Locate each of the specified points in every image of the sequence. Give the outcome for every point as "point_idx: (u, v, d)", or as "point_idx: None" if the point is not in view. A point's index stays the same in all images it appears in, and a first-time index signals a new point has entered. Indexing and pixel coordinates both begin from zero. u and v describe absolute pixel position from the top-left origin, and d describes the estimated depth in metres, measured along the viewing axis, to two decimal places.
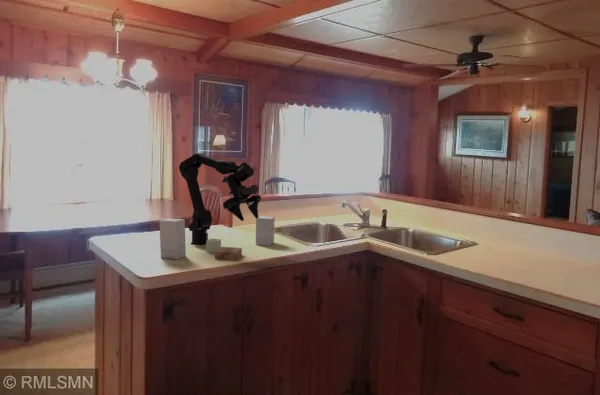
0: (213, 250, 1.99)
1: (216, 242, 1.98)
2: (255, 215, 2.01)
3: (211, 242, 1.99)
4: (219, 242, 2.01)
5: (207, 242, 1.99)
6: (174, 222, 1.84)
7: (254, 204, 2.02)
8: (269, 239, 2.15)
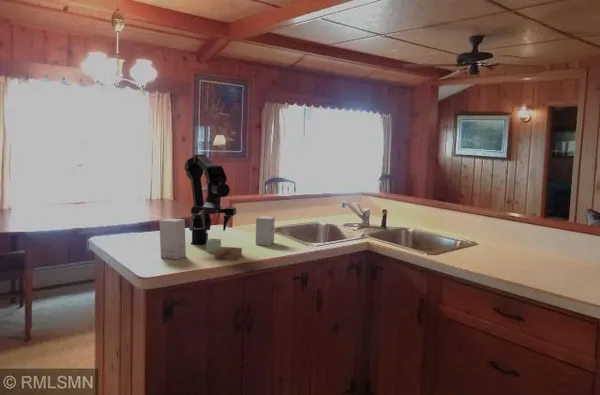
0: (213, 250, 1.99)
1: (216, 242, 1.98)
2: None
3: (211, 242, 1.99)
4: (219, 242, 2.01)
5: (207, 242, 1.99)
6: (174, 222, 1.84)
7: None
8: (269, 239, 2.15)
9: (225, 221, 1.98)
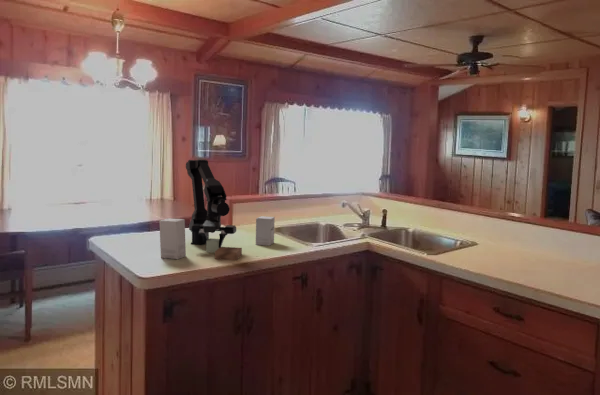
0: (213, 250, 1.99)
1: (216, 242, 1.98)
2: None
3: (211, 242, 1.99)
4: None
5: (207, 242, 1.99)
6: (174, 222, 1.84)
7: None
8: (269, 239, 2.15)
9: (221, 239, 1.99)
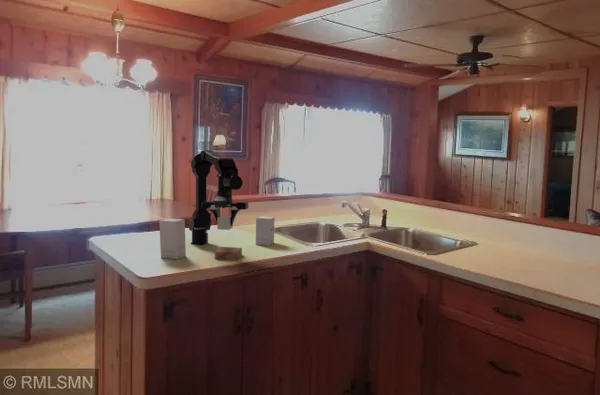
0: (224, 227, 1.90)
1: (228, 218, 1.90)
2: None
3: (222, 218, 1.90)
4: None
5: (218, 218, 1.90)
6: (174, 222, 1.84)
7: None
8: (269, 239, 2.15)
9: (232, 215, 1.91)
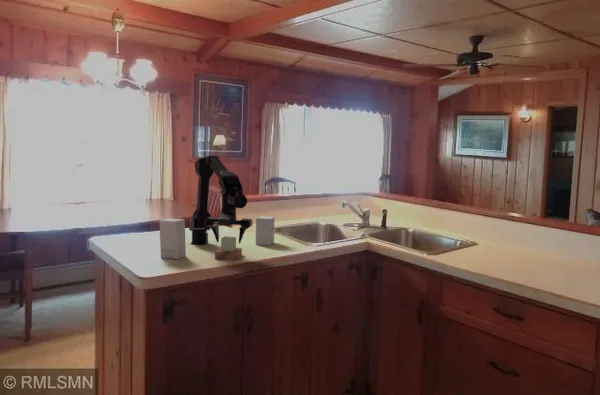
0: (228, 248, 1.89)
1: (231, 240, 1.88)
2: None
3: (226, 240, 1.89)
4: (234, 240, 1.91)
5: (222, 240, 1.89)
6: (174, 222, 1.84)
7: (240, 229, 1.89)
8: (269, 239, 2.15)
9: (241, 233, 1.89)
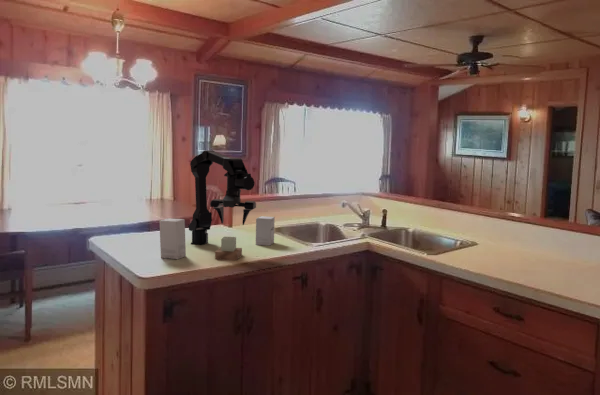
0: (228, 249, 1.89)
1: (231, 240, 1.88)
2: None
3: (226, 240, 1.88)
4: (234, 240, 1.91)
5: (222, 240, 1.89)
6: (174, 222, 1.84)
7: None
8: (269, 239, 2.15)
9: (244, 215, 1.95)
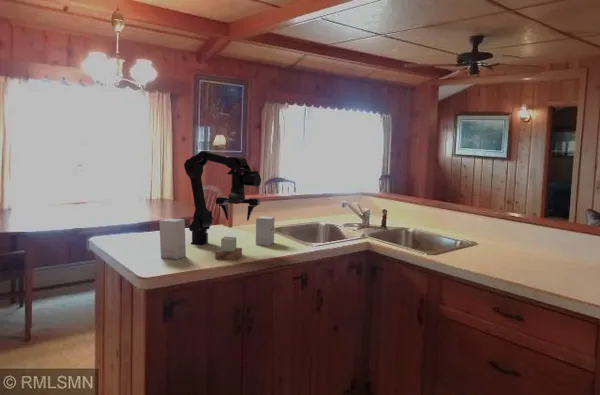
0: (228, 249, 1.88)
1: (231, 240, 1.88)
2: None
3: (226, 240, 1.88)
4: (234, 240, 1.90)
5: (222, 240, 1.88)
6: (174, 222, 1.84)
7: (248, 207, 2.03)
8: (269, 239, 2.15)
9: (249, 211, 2.03)
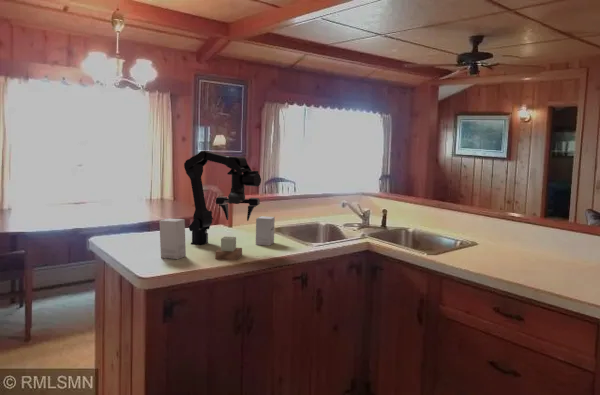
0: (228, 248, 1.89)
1: (231, 240, 1.88)
2: None
3: (226, 240, 1.88)
4: (234, 240, 1.91)
5: (222, 240, 1.89)
6: (174, 222, 1.84)
7: (248, 207, 2.03)
8: (269, 239, 2.15)
9: (249, 211, 2.03)
